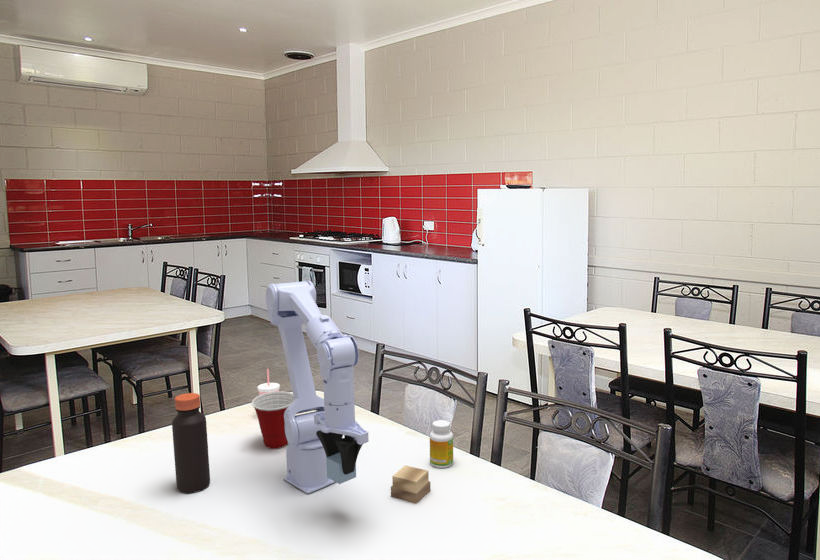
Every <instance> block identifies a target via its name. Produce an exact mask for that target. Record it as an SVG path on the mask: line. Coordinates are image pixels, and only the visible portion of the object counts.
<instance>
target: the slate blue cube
mask: <svg viewBox="0 0 820 560" xmlns="http://www.w3.org/2000/svg"><path fill="white" fill-rule="evenodd" d="M326 465H327V478H329V479H331V480H333V481H335V483H336V484H338V485H341V484H344V483H346V482H349V481H351V480H353V479H355V478H357V464H356V465H355V469H354V472H351V473H349V474H347V475H345V474H344V473H343V469H342V461H341V455H340V453H337V454H334V455H332V456H329V457H327V458H326Z"/></svg>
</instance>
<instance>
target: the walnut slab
mask: <svg viewBox="0 0 820 560" xmlns="http://www.w3.org/2000/svg"><path fill="white" fill-rule="evenodd" d="M430 492H431V481H430V480H429V482H428V483H427V484H426V485H425V486H424V487H423V488H422V489H421V490H420V491H419V492H418V493H417V494H415V493H412V492H408V491H404V490H400V489H396V488H393V485H391V486H390V497H391V498H395V499H398V500H401V501H405V502H407V503H408V502H409V503H412V504H416V505H417V504H418V503H419V502H420V501H421V500H422V499H424V497H425V496H427V495H429V493H430Z"/></svg>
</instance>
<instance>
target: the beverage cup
mask: <svg viewBox="0 0 820 560" xmlns="http://www.w3.org/2000/svg"><path fill="white" fill-rule="evenodd" d="M266 377H267V382H265V383H261V384H259V385H257V387H256V388H257V391H258V396H259V395H262V394H265V393H269V392H277V391H280V387H281V384H280V383H278V382H270V369H269V368H266Z"/></svg>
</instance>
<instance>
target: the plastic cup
mask: <svg viewBox="0 0 820 560" xmlns="http://www.w3.org/2000/svg"><path fill="white" fill-rule="evenodd" d="M293 401H294V397H293V392H290V391H289V392H288V391H283V390H281V391H280V390H279V391H277V392H269V393H265V394H262V395H259V394H258V395H257V396H256V397H254V398H253V399H252V400H251V405H252V407H253V408H254V411H255V414H256V415H257V420H258V421H257V422H258V424H259V429H260V432H261V436H262V440H263V444H264V446H265V448H268V449H280V448H284V447H286V446H288V444H289V442H288V441H287V438H286V434H285V420H284V413H285V410H286V409H287V408H288V407H289V405H290V404H291V403H292V402H293Z"/></svg>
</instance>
